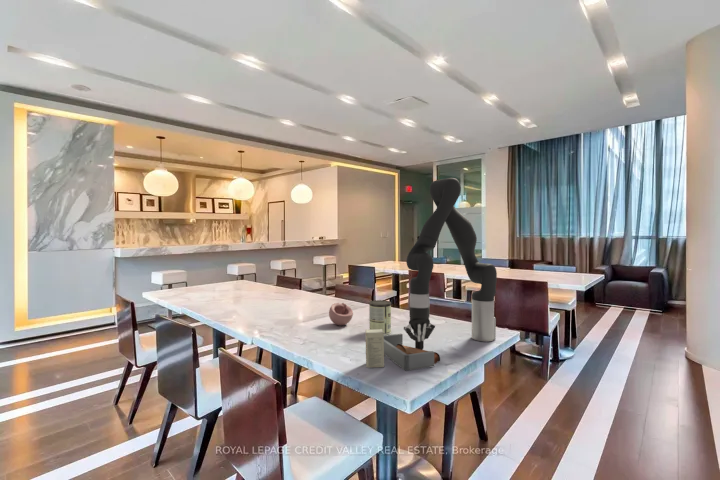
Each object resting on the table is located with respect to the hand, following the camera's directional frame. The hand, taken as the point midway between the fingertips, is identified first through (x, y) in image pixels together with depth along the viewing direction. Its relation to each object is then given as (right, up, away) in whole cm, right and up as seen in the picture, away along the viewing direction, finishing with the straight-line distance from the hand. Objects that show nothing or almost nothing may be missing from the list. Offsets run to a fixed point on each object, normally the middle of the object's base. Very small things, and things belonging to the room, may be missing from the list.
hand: (419, 350), depth 134 cm
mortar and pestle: (-32, -1, +43) cm, 54 cm away
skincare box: (-18, -2, -11) cm, 21 cm away
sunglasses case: (-3, -3, -4) cm, 6 cm away
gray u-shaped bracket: (-6, -2, -2) cm, 7 cm away
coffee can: (-13, -1, +30) cm, 33 cm away
